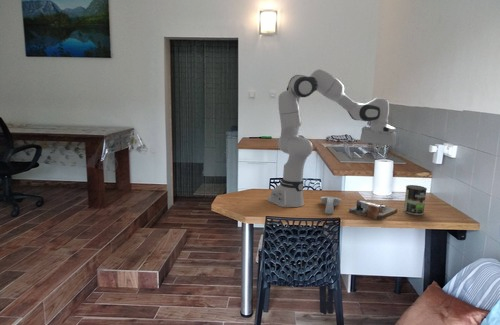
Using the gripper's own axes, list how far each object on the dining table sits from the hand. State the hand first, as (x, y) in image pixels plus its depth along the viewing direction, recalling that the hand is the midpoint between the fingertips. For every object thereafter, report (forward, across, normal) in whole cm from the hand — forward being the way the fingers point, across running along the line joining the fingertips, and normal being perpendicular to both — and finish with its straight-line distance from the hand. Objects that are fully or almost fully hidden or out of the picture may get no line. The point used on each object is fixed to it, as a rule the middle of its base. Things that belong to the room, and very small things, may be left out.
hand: (376, 151), depth 212 cm
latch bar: (+28, +9, -18) cm, 34 cm away
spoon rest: (+32, -12, -24) cm, 41 cm away
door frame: (+31, +8, -11) cm, 34 cm away
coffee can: (+31, +22, +6) cm, 39 cm away
